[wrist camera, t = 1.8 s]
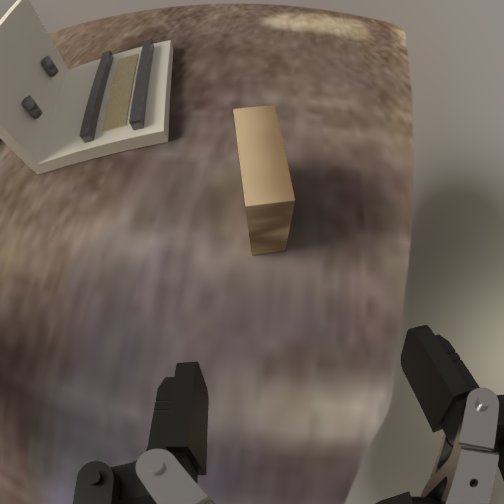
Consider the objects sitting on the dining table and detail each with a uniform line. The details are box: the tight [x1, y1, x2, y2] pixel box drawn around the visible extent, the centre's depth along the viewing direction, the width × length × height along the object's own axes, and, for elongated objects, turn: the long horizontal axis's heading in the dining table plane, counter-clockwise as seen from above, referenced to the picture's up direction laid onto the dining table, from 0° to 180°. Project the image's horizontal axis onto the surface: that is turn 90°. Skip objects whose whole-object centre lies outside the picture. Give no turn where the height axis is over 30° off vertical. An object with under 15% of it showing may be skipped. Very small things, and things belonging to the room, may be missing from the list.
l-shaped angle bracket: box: [0, 0, 173, 175], centre depth 27 cm, size 18×18×18 cm
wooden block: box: [233, 105, 295, 255], centre depth 25 cm, size 3×9×10 cm, turn 7°
